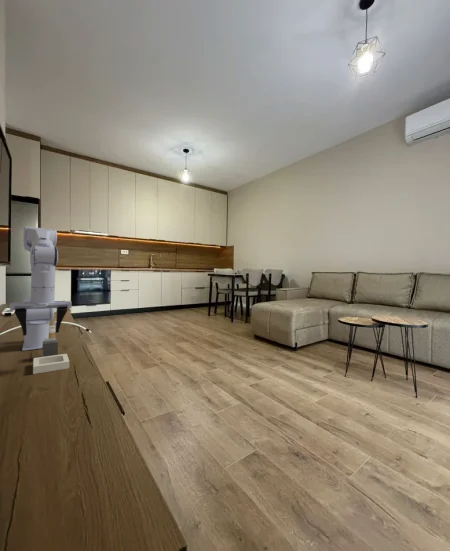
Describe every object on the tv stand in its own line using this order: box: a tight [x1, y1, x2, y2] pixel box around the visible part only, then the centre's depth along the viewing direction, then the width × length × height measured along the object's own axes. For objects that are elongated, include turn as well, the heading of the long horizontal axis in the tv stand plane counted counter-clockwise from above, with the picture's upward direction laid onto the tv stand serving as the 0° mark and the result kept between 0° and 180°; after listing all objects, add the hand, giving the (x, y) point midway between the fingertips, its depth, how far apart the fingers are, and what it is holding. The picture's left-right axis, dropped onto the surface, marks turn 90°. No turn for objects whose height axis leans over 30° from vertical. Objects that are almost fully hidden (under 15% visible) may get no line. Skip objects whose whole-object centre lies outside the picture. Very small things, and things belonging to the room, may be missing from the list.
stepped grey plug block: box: [41, 337, 59, 357], centre depth 83 cm, size 4×4×6 cm
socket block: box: [32, 353, 70, 375], centre depth 75 cm, size 8×8×2 cm
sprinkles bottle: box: [49, 308, 57, 338], centre depth 102 cm, size 5×5×13 cm
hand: (41, 333), depth 74 cm, fingers open, 7 cm apart
